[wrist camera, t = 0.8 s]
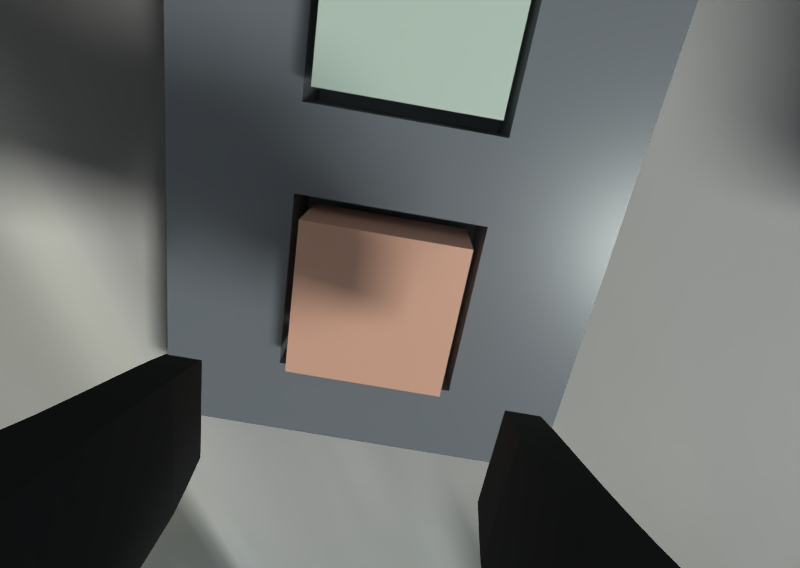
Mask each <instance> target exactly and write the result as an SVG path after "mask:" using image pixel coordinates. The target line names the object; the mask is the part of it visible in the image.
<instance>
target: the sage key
mask: <svg viewBox="0 0 800 568" xmlns="http://www.w3.org/2000/svg"><path fill="white" fill-rule="evenodd" d="M530 4H531V0H319V3H318V14H317V25H316V36H315V47H314V58H313V69H312V80H311V87H317V88H323V89H328V90H334V91H339V92H345V93H351V94H356V95H362V96H368V97H373V98H379V99H384V100H390V101H396V102H401V103H407V104H413V105H418V106H424V107H430V108H435V109H441V110H446V111H452V112H458V113H463V114H469V115H475V116H480V117H486V118H492V119H497V120H504V116H505V112H506V107H507V103H508V99H509V94H510V90H511V86H512V81H513V77H514V73H515V69H516V64H517V60H518V56H519V51H520V47H521V43H522V38H523V34H524V30H525V25H526V21H527V17H528V12H529V8H530Z"/></svg>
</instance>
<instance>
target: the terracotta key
mask: <svg viewBox="0 0 800 568" xmlns="http://www.w3.org/2000/svg"><path fill="white" fill-rule="evenodd" d="M472 254H473V247H472V244H471V241H470V238H469V235H468V231H467V229H463V228H457V227H451V226H446V225H440V224H434V223H428V222H422V221H417V220H411V219H405V218H399V217H393V216H388V215H382V214H376V213H370V212H364V211H359V210H353V209H347V208H341V207H336V206H330V205H324V204H318V203H315V204H314V205H313V206H312V207H311V208H310V209H309V210H308V211H307V212H306V213H305V214H304V215H303V216H302V217H301V218H300V219H299V223H298V234H297V245H296V256H295V267H294V278H293V289H292V300H291V311H290V322H289V333H288V344H287V355H286V366H285V371H287V372H293V373H299V374H305V375H311V376H317V377H323V378H329V379H335V380H341V381H347V382H353V383H359V384H365V385H371V386H377V387H383V388H389V389H395V390H401V391H407V392H414V393H420V394H426V395H432V396H438V397H440V393H441V388H442V384H443V380H444V375H445V371H446V367H447V362H448V358H449V354H450V349H451V345H452V341H453V336H454V332H455V328H456V323H457V319H458V315H459V310H460V306H461V302H462V297H463V293H464V289H465V285H466V280H467V276H468V272H469V267H470V263H471V259H472Z"/></svg>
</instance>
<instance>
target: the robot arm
mask: <svg viewBox="0 0 800 568" xmlns="http://www.w3.org/2000/svg"><path fill="white" fill-rule="evenodd" d="M201 388H202V360H198V359H192V358H186V357H180V356H174V355H168V354H165V355H163V356H160V357H158V358H155V359H153V360H150V361H148V362H146V363H144V364H142V365H139V366H137V367H135V368H133V369H131V370H129V371H127V372H124V373H122V374H120V375H118V376H116V377H114V378H112V379H110V380H108V381H106V382H104V383H101V384H99V385H97V386H95V387H93V388H91V389H89V390H87V391H85V392H82V393H80V394H78V395H76V396H74V397H72V398H70V399H68V400H65V401H63V402H61V403H59V404H57V405H55V406H53V407H51V408H48V409H46V410H44V411H42V412H40V413H38V414H36V415H33V416H31V417H29V418H27V419H24V420H22V421H20V422H17V423H15V424H13V425H10V426H8V427H6V428H3V429H1V430H0V568H140V567H141V566H142V564H143V563H144V561H145V559H146V558H147V556H148V555H149V553H150V551H151V550H152V548H153V547H154V545H155V543H156V542H157V540H158V538H159V537H160V535H161V534H162V532H163V530H164V529H165V527H166V525H167V524H168V522H169V521H170V519H171V517H172V516H173V514H174V512H175V510H176V508H177V506H178V504H179V502H180V500H181V498H182V496H183V493H184V491H185V489H186V487H187V485H188V483H189V481H190V479H191V476H192V474H193V472H194V470H195V468H196V465H197V463H198V461H199V459H200V445H201ZM478 516H479V540H480V557H481V567H482V568H680V567H679V566H678V565H677V564H676V563H675V562H674V561H673V560H672V559H671V558H670V557H669V556H668V555H667V554H666V553H665V552H664V551H663V550H662V549H661V548H660V547H659V546H658V545H657V544H656V543H655V542H654V541H653V539H652V538H651V537H650V536H649V535H648V534H647V533H646V532H645V531H644V530H643V529H642V528H641V527H640V526H639V525H638V524H637V523H636V522H635V521H634V519H633V518H632V517H631V516H630V515H629V514H628V513H627V512H626V511H625V510H624V509H623V508H622V507H621V505H620V504H619V503H618V502H617V501H616V500H615V499H614V498H613V497H612V496H611V494H610V493H609V492H608V491H607V490H606V489H605V488H604V487H603V486H602V484H601V483H600V482H599V481H598V480H597V479H596V478H595V477H594V475H593V474H592V473H591V472H590V471H589V470H588V469H587V468H586V466H585V465H584V464H583V463H582V462H581V461H580V460H579V458H578V457H577V456H576V455H575V454H574V453H573V452H572V450H571V449H570V448H569V447H568V446H567V445H566V444H565V442H564V441H563V440H562V439H561V438H560V437H559V436H558V435H557V433H556V432H555V431H554V430H553V429H552V428H551V427H550V426H549V425H548V424H547V422H546V421H545V420H544V419H543V418H542V417H541V416H536V415H530V414H524V413H518V412H512V411H506V410H505V412H504V415H503V419H502V422H501V425H500V429H499V432H498V436H497V439H496V442H495V446H494V449H493V453H492V456H491V459H490V463H489V466H488V470H487V473H486V476H485V480H484V483H483V487H482V490H481V493H480V497H479V500H478Z"/></svg>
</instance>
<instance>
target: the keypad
mask: <svg viewBox="0 0 800 568" xmlns="http://www.w3.org/2000/svg"><path fill="white" fill-rule="evenodd" d="M697 2H698V0H531V4H530V8H529V12H528V17H527V21H526V25H525V30H524V34H523V38H522V43H521V47H520V51H519V56H518V60H517V64H516V69H515V73H514V77H513V81H512V86H511V90H510V94H509V99H508V103H507V107H506V112H505V116H504V120H497V119H492V118H486V117H480V116H475V115H469V114H463V113H458V112H452V111H446V110H441V109H435V108H430V107H424V106H418V105H413V104H407V103H401V102H396V101H390V100H384V99H379V98H373V97H368V96H362V95H356V94H351V93H345V92H339V91H334V90H328V89H323V88H317V87H311V80H312V69H313V58H314V47H315V36H316V25H317V14H318V3H319V0H164V77H165V161H166V245H167V328H168V355H174V356H180V357H186V358H192V359H198V360H202V388H201V415H203V416H209V417H215V418H221V419H227V420H234V421H240V422H246V423H252V424H258V425H264V426H270V427H276V428H283V429H289V430H295V431H301V432H307V433H313V434H319V435H325V436H332V437H338V438H344V439H350V440H356V441H362V442H368V443H374V444H381V445H387V446H393V447H399V448H405V449H411V450H417V451H423V452H430V453H436V454H442V455H448V456H454V457H460V458H466V459H472V460H479V461H485V462H490V459H491V456H492V453H493V449H494V446H495V442H496V439H497V436H498V432H499V429H500V425H501V422H502V419H503V415H504V412H505V410H506V411H512V412H518V413H524V414H530V415H536V416H541V417H542V418H543V419H544V420H545V421H546V422H547V424H548V425H549V426H550V427H551V428H552V426H553V423H554V420H555V417H556V414H557V411H558V408H559V405H560V402H561V399H562V397H563V394H564V391H565V388H566V385H567V382H568V379H569V376H570V373H571V370H572V367H573V364H574V361H575V359H576V356H577V353H578V350H579V347H580V344H581V341H582V338H583V335H584V332H585V329H586V326H587V323H588V320H589V318H590V315H591V312H592V309H593V306H594V303H595V300H596V297H597V294H598V291H599V288H600V285H601V282H602V280H603V277H604V274H605V271H606V268H607V265H608V262H609V259H610V256H611V253H612V250H613V247H614V244H615V241H616V239H617V236H618V233H619V230H620V227H621V224H622V221H623V218H624V215H625V212H626V209H627V206H628V203H629V201H630V198H631V195H632V192H633V189H634V186H635V183H636V180H637V177H638V174H639V171H640V168H641V165H642V162H643V160H644V157H645V154H646V151H647V148H648V145H649V142H650V139H651V136H652V133H653V130H654V127H655V124H656V122H657V119H658V116H659V113H660V110H661V107H662V104H663V101H664V98H665V95H666V92H667V89H668V86H669V83H670V81H671V78H672V75H673V72H674V69H675V66H676V63H677V60H678V57H679V54H680V51H681V48H682V45H683V43H684V40H685V37H686V34H687V31H688V28H689V25H690V22H691V19H692V16H693V13H694V10H695V7H696V5H697ZM315 203H318V204H324V205H330V206H336V207H341V208H347V209H353V210H359V211H364V212H370V213H376V214H382V215H388V216H393V217H399V218H405V219H411V220H417V221H422V222H428V223H434V224H440V225H446V226H451V227H457V228H463V229H467V231H468V235H469V238H470V241H471V244H472V247H473V254H472V259H471V263H470V267H469V272H468V276H467V280H466V285H465V289H464V293H463V297H462V302H461V306H460V310H459V315H458V319H457V323H456V328H455V332H454V336H453V341H452V345H451V349H450V354H449V358H448V362H447V367H446V371H445V375H444V380H443V384H442V388H441V393H440V397H438V396H432V395H426V394H420V393H414V392H407V391H401V390H395V389H389V388H383V387H377V386H371V385H365V384H359V383H353V382H347V381H341V380H335V379H329V378H323V377H317V376H311V375H305V374H299V373H293V372H287V371H285V366H286V355H287V344H288V333H289V322H290V311H291V300H292V289H293V278H294V267H295V256H296V245H297V234H298V223H299V219H300V218H301V217H302V216H303V215H304V214H305V213H306V212H307V211H308V210H309V209H310V208H311V207H312V206H313V205H314V204H315Z"/></svg>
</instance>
